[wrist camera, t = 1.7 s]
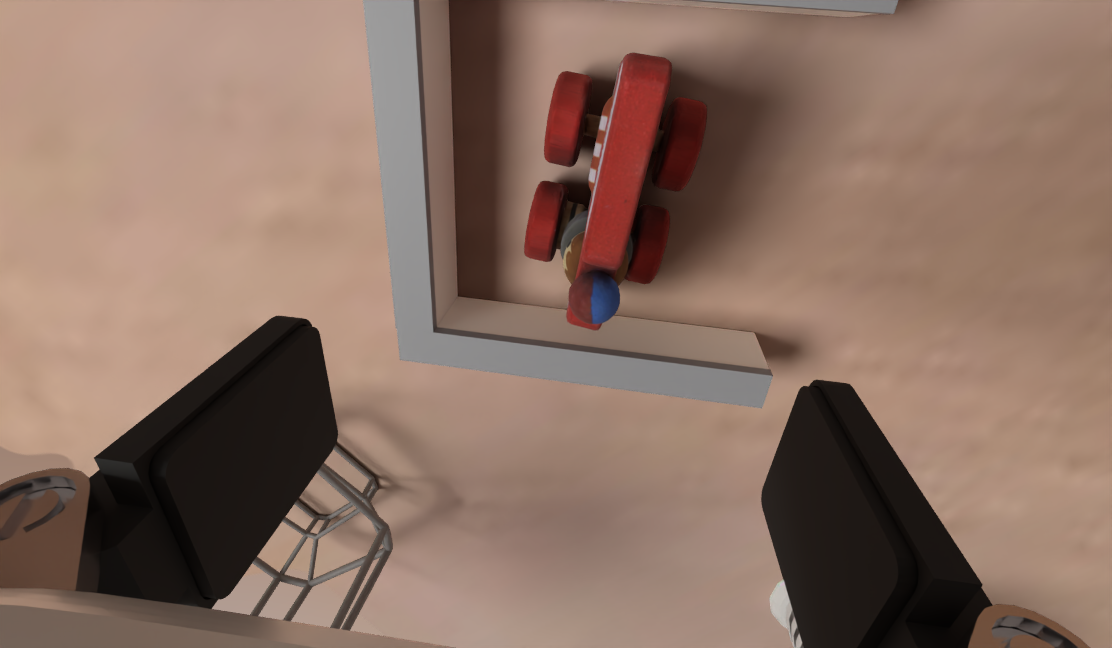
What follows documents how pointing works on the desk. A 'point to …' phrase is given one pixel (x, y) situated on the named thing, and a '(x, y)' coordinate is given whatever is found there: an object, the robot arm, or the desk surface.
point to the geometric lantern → (347, 492)
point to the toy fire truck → (613, 183)
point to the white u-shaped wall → (508, 328)
